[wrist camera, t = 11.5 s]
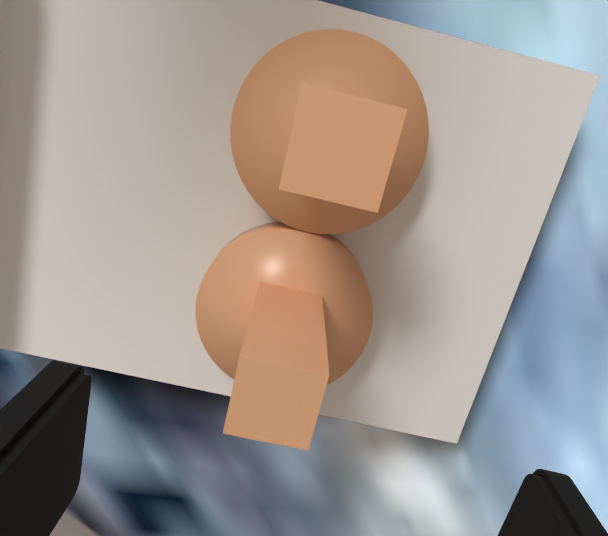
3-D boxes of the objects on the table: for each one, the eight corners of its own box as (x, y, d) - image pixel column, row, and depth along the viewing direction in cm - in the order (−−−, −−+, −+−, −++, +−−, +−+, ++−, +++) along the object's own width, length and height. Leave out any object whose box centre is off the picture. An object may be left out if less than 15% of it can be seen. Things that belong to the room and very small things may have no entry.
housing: (565, 80, 20) (798, 50, 11) (441, 411, 25) (527, 598, 15) (18, -65, 19) (-281, -250, 9) (-4, 316, 23) (-217, 457, 14)
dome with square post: (379, 230, 22) (434, 317, 12) (341, 364, 24) (364, 527, 14) (228, 195, 21) (167, 258, 12) (201, 334, 23) (132, 483, 14)
